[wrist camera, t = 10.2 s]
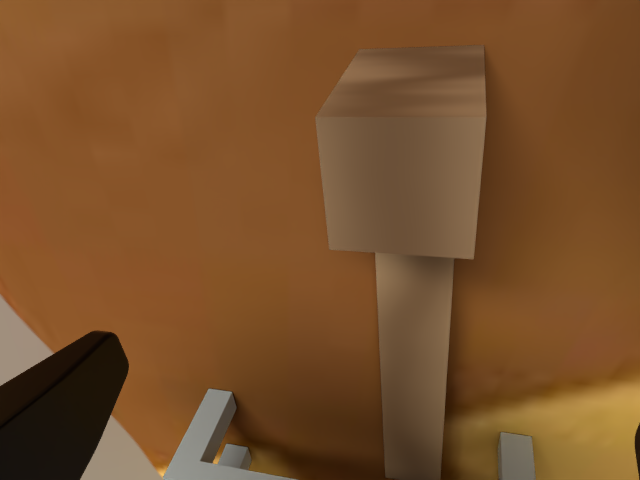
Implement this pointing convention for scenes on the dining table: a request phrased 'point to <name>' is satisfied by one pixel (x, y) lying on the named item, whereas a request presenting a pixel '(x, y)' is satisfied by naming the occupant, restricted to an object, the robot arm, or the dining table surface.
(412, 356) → the wooden mallet
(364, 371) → the dining table surface
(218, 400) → the grey bridge
